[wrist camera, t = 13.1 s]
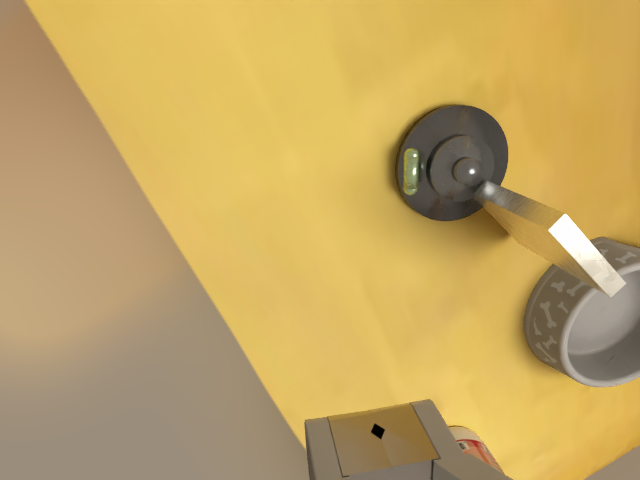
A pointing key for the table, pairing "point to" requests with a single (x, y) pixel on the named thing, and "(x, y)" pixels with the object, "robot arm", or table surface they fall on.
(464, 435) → the white plastic bottle
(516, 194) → the upright slab
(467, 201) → the base
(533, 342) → the dog bowl
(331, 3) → the table surface
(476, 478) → the robot arm
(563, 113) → the table surface
